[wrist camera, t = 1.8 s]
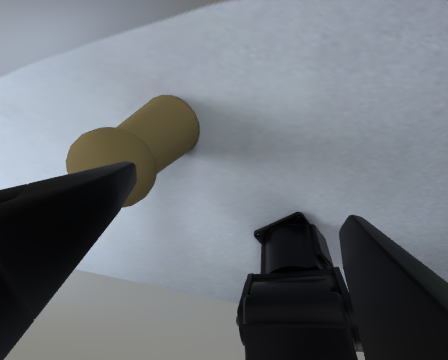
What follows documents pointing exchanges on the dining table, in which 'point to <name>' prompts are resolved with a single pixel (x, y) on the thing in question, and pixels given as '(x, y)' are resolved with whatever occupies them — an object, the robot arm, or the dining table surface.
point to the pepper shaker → (139, 142)
